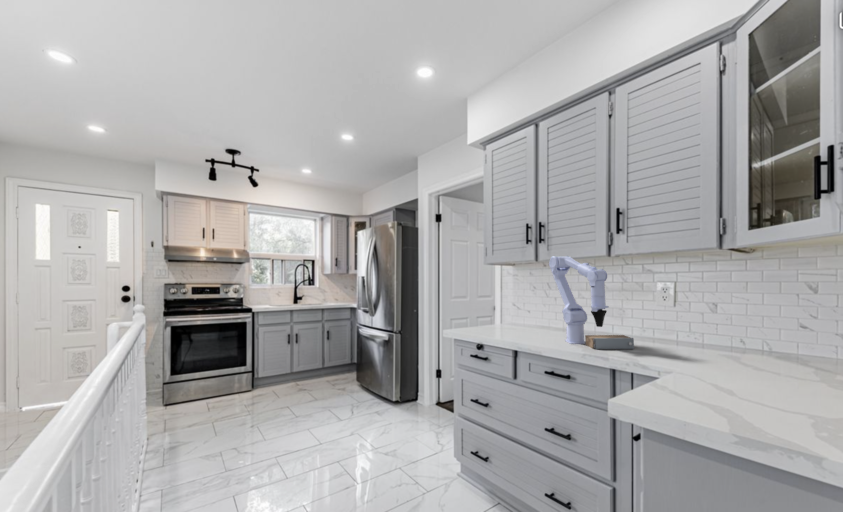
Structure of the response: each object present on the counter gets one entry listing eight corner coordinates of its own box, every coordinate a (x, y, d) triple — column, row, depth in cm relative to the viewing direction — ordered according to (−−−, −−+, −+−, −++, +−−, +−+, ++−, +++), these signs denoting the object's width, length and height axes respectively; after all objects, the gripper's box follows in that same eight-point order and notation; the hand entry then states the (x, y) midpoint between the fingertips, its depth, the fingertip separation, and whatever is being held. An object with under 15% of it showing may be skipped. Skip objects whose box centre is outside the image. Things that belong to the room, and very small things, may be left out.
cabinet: (585, 345, 170) (585, 335, 170) (623, 344, 168) (623, 335, 168) (592, 348, 161) (592, 338, 161) (633, 348, 159) (632, 338, 160)
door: (593, 348, 161) (592, 338, 161) (632, 348, 159) (632, 337, 159) (595, 349, 159) (594, 338, 159) (635, 349, 157) (634, 338, 157)
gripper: (603, 297, 156) (605, 329, 155) (611, 295, 167) (613, 325, 166) (586, 296, 160) (587, 328, 159) (595, 295, 171) (596, 324, 170)
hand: (599, 326), depth 163 cm, fingers closed
